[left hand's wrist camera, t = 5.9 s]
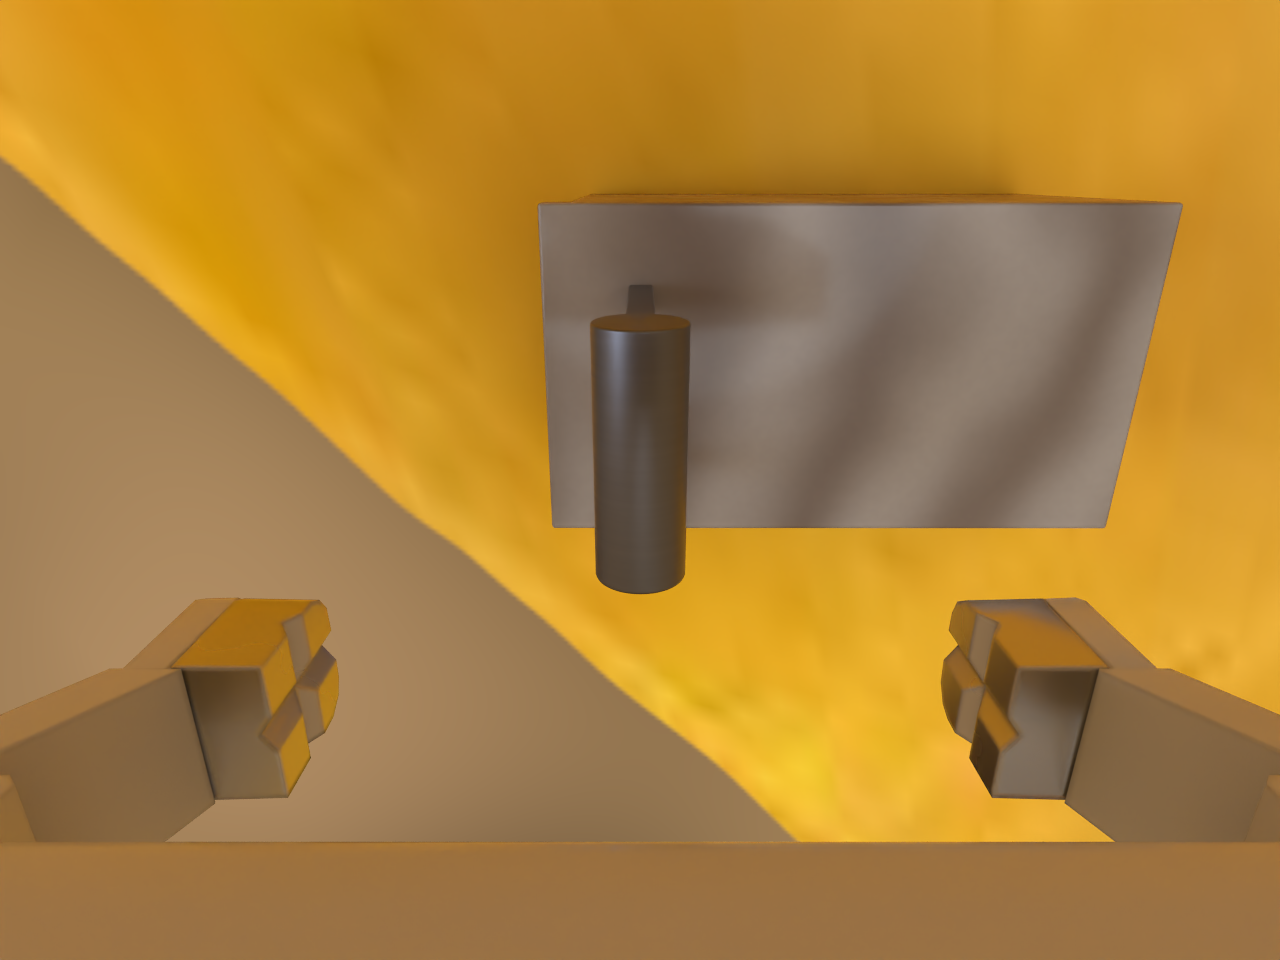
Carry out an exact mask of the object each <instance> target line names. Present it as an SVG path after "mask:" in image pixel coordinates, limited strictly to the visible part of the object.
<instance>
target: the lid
mask: <svg viewBox="0 0 1280 960" xmlns="http://www.w3.org/2000/svg"><path fill="white" fill-rule="evenodd" d="M1182 207H1183V205H1182V204H1181V203H1177V202H542V203H540V204H538V224H539V246H540V268H541V289H542V311H543V333H544V355H545V376H546V398H547V420H548V442H549V463H550V485H551V507H552V525H553V527H554V528H595V555H596V575H597V577H598V579H599V581H600V582H601V583H602V584H604V585H605V586H607V587H608V588H611V589H613V590H616V591H619V592H624V593H630V594H650V593H657V592H661V591H665V590H668V589H670V588H672V587H674V586H676V585H677V584H678V583H680V582H681V580H682V579H683V577H684V575H685V548H686V528H1105V526H1106V523H1107V518H1108V514H1109V510H1110V506H1111V502H1112V498H1113V494H1114V489H1115V485H1116V481H1117V477H1118V473H1119V469H1120V464H1121V460H1122V456H1123V452H1124V448H1125V444H1126V440H1127V435H1128V431H1129V427H1130V423H1131V419H1132V415H1133V411H1134V406H1135V402H1136V398H1137V394H1138V390H1139V386H1140V381H1141V377H1142V373H1143V369H1144V365H1145V361H1146V357H1147V352H1148V348H1149V344H1150V340H1151V336H1152V332H1153V328H1154V323H1155V319H1156V315H1157V311H1158V307H1159V303H1160V298H1161V294H1162V290H1163V286H1164V282H1165V278H1166V274H1167V269H1168V265H1169V261H1170V257H1171V253H1172V249H1173V245H1174V240H1175V236H1176V232H1177V228H1178V224H1179V220H1180V215H1181V211H1182Z"/></svg>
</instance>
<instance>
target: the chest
mask: <svg viewBox="0 0 1280 960" xmlns="http://www.w3.org/2000/svg"><path fill="white" fill-rule="evenodd" d="M572 202H1157V201H1139V200H1120V199H1101V198H1082V197H1062V196H1043V195H1022V194H591V195H588V196H585V197H583V198H580V199H577V200H575V201H572Z"/></svg>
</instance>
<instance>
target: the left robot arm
mask: <svg viewBox="0 0 1280 960" xmlns="http://www.w3.org/2000/svg"><path fill="white" fill-rule="evenodd" d="M330 631H331V627H330V622H329V618H328V613H327V608H326V607H325V606H324V605H323V604H322V602H321V601H320V600H295V599H240V598H209V599H200V600H195V601H194V602H193V603H192V604H191V605H190V606H189V607H188V608H186V609H185V610H184V611H183V612H182V613H181V614H180V615H179V616H178V617H177V618H176V619H175V620H174V621H173V622H172V623H171V624H170V625H168V626H167V627H166V628H165V629H164V630H163V631H162V632H161V633H160V634H159V635H158V636H157V637H156V638H155V639H154V640H153V641H152V642H150V643H149V644H148V645H147V646H146V647H145V648H144V649H143V650H142V651H141V652H140V653H139V654H138V655H137V656H136V657H135V658H133V659H132V660H131V661H130V662H129V663H128V664H127V665H126V666H125V667H124V668H123V669H108V670H106V671H103V672H101V673H98V674H96V675H94V676H91V677H89V678H86V679H84V680H82V681H79V682H77V683H75V684H72V685H70V686H67V687H65V688H63V689H60V690H58V691H56V692H53V693H51V694H48V695H46V696H44V697H41V698H39V699H37V700H34V701H32V702H29V703H27V704H25V705H22V706H20V707H18V708H15V709H13V710H11V711H8V712H6V713H3V714H1V715H0V960H1280V715H1279V714H1276V713H1274V712H1272V711H1269V710H1267V709H1265V708H1262V707H1260V706H1257V705H1255V704H1253V703H1250V702H1248V701H1246V700H1243V699H1241V698H1238V697H1236V696H1234V695H1231V694H1229V693H1227V692H1224V691H1222V690H1220V689H1217V688H1215V687H1212V686H1210V685H1208V684H1205V683H1203V682H1201V681H1198V680H1196V679H1194V678H1191V677H1189V676H1186V675H1184V674H1182V673H1179V672H1177V671H1175V670H1172V669H1157V668H1156V667H1155V666H1154V665H1153V664H1152V663H1151V662H1150V661H1149V660H1148V659H1147V658H1146V657H1144V656H1143V655H1142V654H1141V653H1140V652H1139V651H1138V650H1137V649H1136V648H1135V647H1134V646H1133V645H1132V644H1131V643H1130V642H1129V641H1128V640H1127V639H1125V638H1124V637H1123V636H1122V635H1121V634H1120V633H1119V632H1118V631H1117V630H1116V629H1115V628H1114V627H1113V626H1112V625H1111V624H1110V623H1109V622H1108V621H1106V620H1105V619H1104V618H1103V617H1102V616H1101V615H1100V614H1099V613H1098V612H1097V611H1096V610H1095V609H1094V608H1093V607H1092V606H1091V605H1090V604H1088V603H1087V602H1086V601H1084V600H1081V599H1078V598H1053V599H1009V600H968V601H959V602H957V604H956V606H955V608H954V610H953V612H952V616H951V621H950V627H949V631H950V633H951V634H952V636H953V637H954V639H955V640H956V642H957V644H958V646H957V647H956V648H955V649H954V650H953V651H952V652H951V653H950V654H949V655H948V656H947V657H946V658H945V659H944V662H943V670H942V678H941V689H942V700H943V706H944V709H945V712H946V715H947V719H948V721H949V722H950V724H951V726H952V728H953V730H954V732H955V733H956V734H958V735H959V736H961V737H962V738H964V739H966V740H967V741H969V742H970V743H972V746H971V751H970V757H969V758H970V760H971V762H972V764H973V765H974V767H975V769H976V771H977V772H978V774H979V776H980V777H981V779H982V781H983V783H984V784H985V786H986V788H987V790H988V791H989V793H990V795H991V797H992V798H1019V799H1055V800H1065V804H1067V805H1068V806H1069V807H1071V808H1072V809H1073V810H1075V811H1076V812H1077V813H1078V814H1080V815H1081V816H1082V817H1084V818H1085V819H1086V820H1088V821H1089V822H1090V823H1092V824H1093V825H1094V826H1095V827H1097V828H1098V829H1099V830H1101V831H1102V832H1103V833H1105V834H1106V835H1107V836H1109V837H1110V838H1111V839H1113V840H1114V841H1115V842H165V841H166V840H168V839H169V838H170V837H172V836H173V835H174V834H176V833H177V832H178V831H180V830H181V829H182V828H183V827H185V826H186V825H187V824H189V823H190V822H191V821H193V820H194V819H195V818H196V817H198V816H199V815H200V814H202V813H203V812H204V811H206V810H207V809H208V808H210V807H211V806H212V805H214V804H215V800H224V799H260V798H288V797H289V795H290V793H291V792H292V790H293V788H294V786H295V785H296V783H297V781H298V779H299V777H300V776H301V774H302V772H303V771H304V769H305V767H306V765H307V764H308V762H309V760H310V758H311V757H310V751H309V746H308V743H310V742H311V741H313V740H314V739H316V738H318V737H319V736H321V735H322V734H324V733H325V732H326V730H327V728H328V726H329V724H330V722H331V720H332V718H333V716H334V712H335V708H336V704H337V699H338V695H339V675H338V668H337V662H336V659H335V658H334V657H333V656H332V655H331V654H330V653H329V652H328V651H327V650H326V649H325V648H324V647H323V646H322V644H323V642H324V640H325V639H326V637H327V636H328V634H329V633H330Z"/></svg>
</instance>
